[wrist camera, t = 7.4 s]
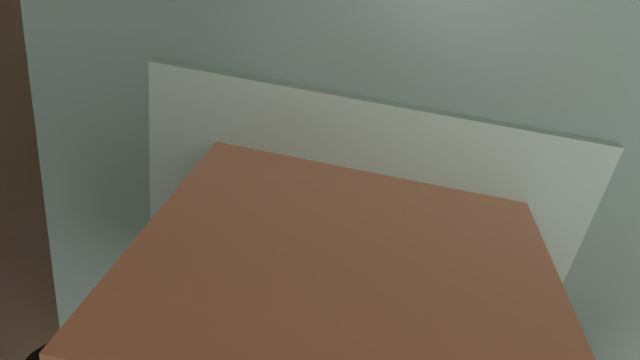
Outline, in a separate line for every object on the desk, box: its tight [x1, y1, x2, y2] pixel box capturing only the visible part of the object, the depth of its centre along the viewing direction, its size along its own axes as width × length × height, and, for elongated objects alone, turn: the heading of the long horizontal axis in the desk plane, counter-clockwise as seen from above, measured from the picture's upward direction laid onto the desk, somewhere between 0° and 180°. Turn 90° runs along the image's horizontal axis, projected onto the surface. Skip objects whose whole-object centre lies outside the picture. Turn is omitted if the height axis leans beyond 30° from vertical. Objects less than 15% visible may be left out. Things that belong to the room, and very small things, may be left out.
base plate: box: [20, 0, 640, 360], centre depth 14 cm, size 16×16×2 cm
